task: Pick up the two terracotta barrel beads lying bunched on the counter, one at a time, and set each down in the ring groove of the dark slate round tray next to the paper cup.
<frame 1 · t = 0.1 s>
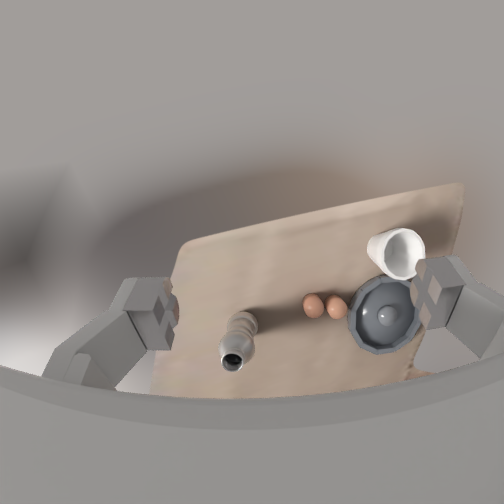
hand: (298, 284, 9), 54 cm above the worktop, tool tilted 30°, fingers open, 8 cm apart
tray: (384, 312, 63), on the worktop
foam cup: (379, 248, 62), on the worktop
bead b: (333, 303, 64), on the worktop
bead a: (311, 302, 64), on the worktop
plastic bottle: (243, 322, 66), on the worktop
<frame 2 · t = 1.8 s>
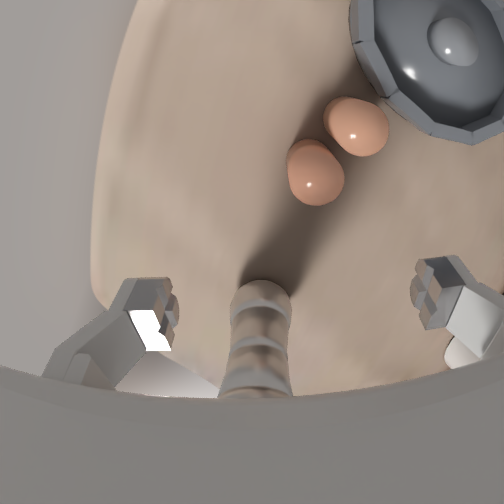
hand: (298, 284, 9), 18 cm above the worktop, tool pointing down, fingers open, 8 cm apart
tray: (442, 42, 17), on the worktop
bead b: (346, 119, 22), on the worktop
bead a: (309, 161, 25), on the worktop
plastic bottle: (261, 294, 33), on the worktop
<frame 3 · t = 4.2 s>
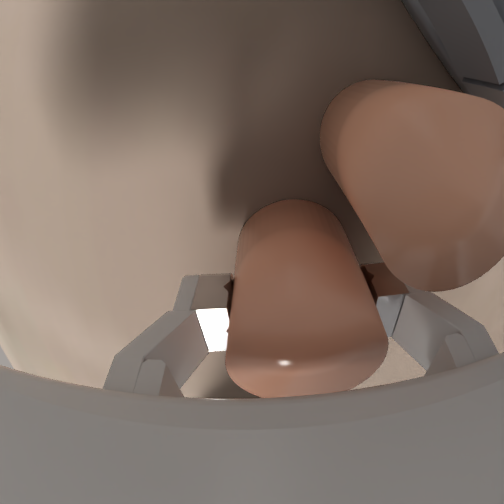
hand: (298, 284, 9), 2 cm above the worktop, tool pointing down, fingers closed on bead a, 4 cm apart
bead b: (379, 139, 8), on the worktop
bead a: (292, 249, 11), on the worktop, touching gripper
when the fingers open (4 cm above the worktop, at t = 8.6 s): bead a drops 1 cm, resting on tray.
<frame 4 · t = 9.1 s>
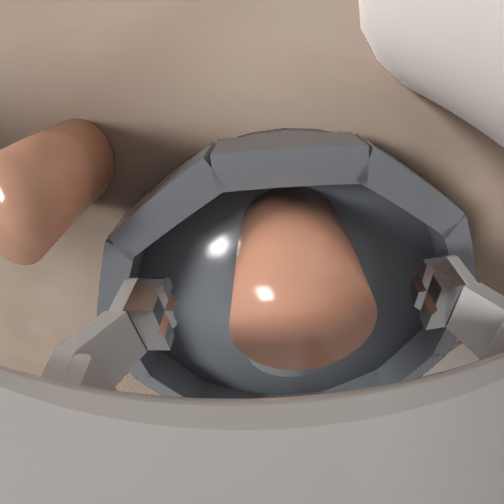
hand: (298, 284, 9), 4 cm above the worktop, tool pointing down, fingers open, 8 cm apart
tray: (291, 306, 15), on the worktop
foam cup: (427, 27, 8), on the worktop
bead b: (76, 162, 11), on the worktop
bead a: (290, 232, 12), point 1 cm above the worktop, touching tray
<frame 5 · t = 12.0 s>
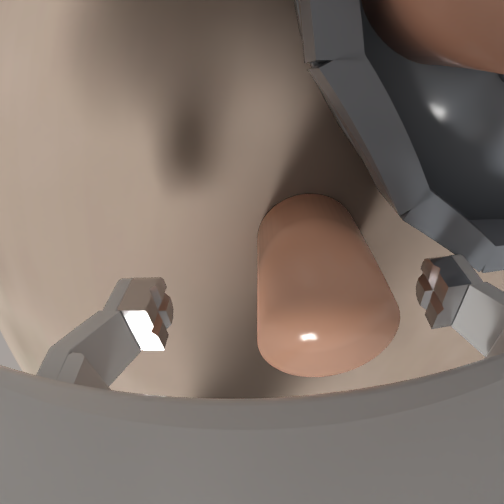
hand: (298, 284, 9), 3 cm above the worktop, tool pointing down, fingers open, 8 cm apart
tray: (503, 44, 6), on the worktop
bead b: (307, 240, 12), on the worktop
bead a: (418, 9, 6), point 1 cm above the worktop, touching tray
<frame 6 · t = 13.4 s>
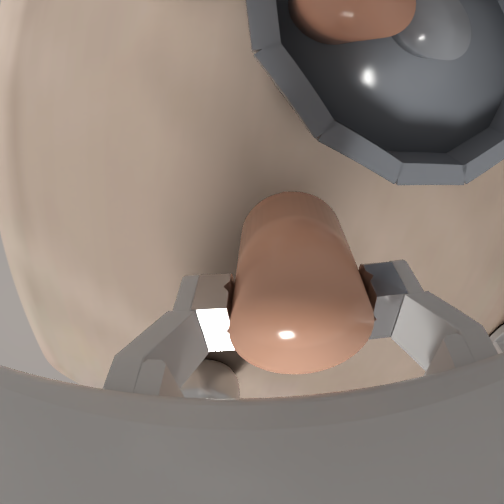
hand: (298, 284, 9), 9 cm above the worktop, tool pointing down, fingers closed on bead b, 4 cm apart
tray: (410, 22, 11), on the worktop
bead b: (291, 237, 12), point 6 cm above the worktop, touching gripper
bead a: (329, 9, 10), point 1 cm above the worktop, touching tray
plastic bottle: (207, 367, 28), on the worktop
when the fingers open (4 cm above the worktop, at t = 16.7 s): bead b stays where it is, resting on tray.
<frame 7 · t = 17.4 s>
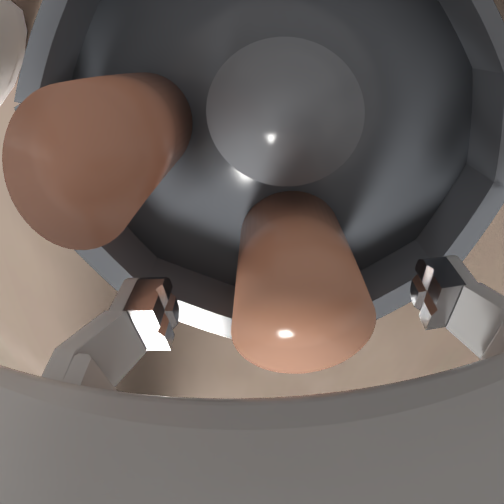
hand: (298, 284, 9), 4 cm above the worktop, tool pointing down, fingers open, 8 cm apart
tray: (280, 102, 10), on the worktop
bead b: (290, 237, 12), point 1 cm above the worktop, touching tray
bead a: (138, 125, 9), point 1 cm above the worktop, touching tray
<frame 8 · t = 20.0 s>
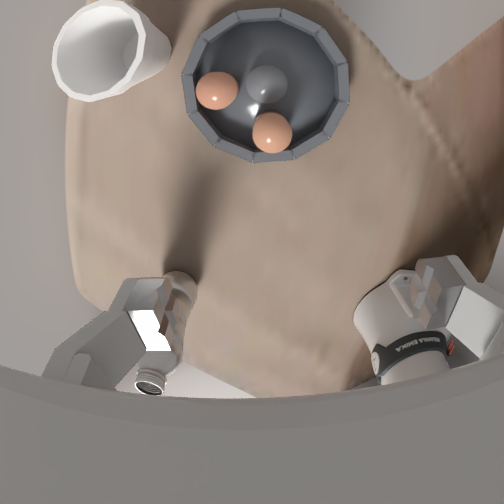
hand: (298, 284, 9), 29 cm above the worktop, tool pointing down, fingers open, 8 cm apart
tray: (266, 83, 31), on the worktop
foam cup: (147, 53, 28), on the worktop
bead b: (270, 126, 33), point 1 cm above the worktop, touching tray
bead a: (221, 88, 30), point 1 cm above the worktop, touching tray
plastic bottle: (180, 280, 48), on the worktop
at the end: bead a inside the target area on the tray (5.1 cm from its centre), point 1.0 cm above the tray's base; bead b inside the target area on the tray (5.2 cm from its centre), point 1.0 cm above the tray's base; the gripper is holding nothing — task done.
